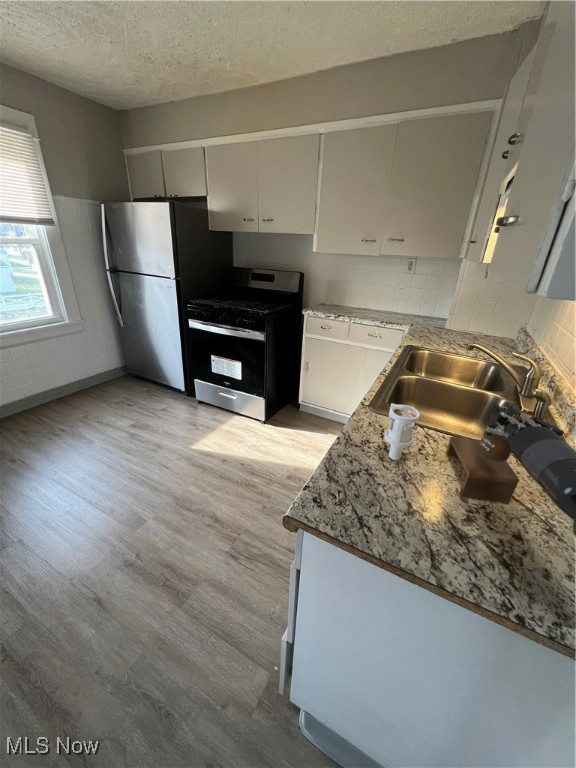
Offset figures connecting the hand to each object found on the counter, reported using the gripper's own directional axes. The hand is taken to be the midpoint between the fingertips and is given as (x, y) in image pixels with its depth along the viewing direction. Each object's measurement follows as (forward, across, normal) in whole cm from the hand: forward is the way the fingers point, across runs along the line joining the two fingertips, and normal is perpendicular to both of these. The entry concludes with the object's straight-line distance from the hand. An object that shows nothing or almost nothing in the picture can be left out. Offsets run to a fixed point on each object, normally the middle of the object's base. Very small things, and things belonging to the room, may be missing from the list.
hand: (501, 409), depth 68 cm
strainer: (+5, +19, +20) cm, 28 cm away
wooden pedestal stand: (0, +1, +20) cm, 20 cm away
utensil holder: (-3, 0, +10) cm, 11 cm away
